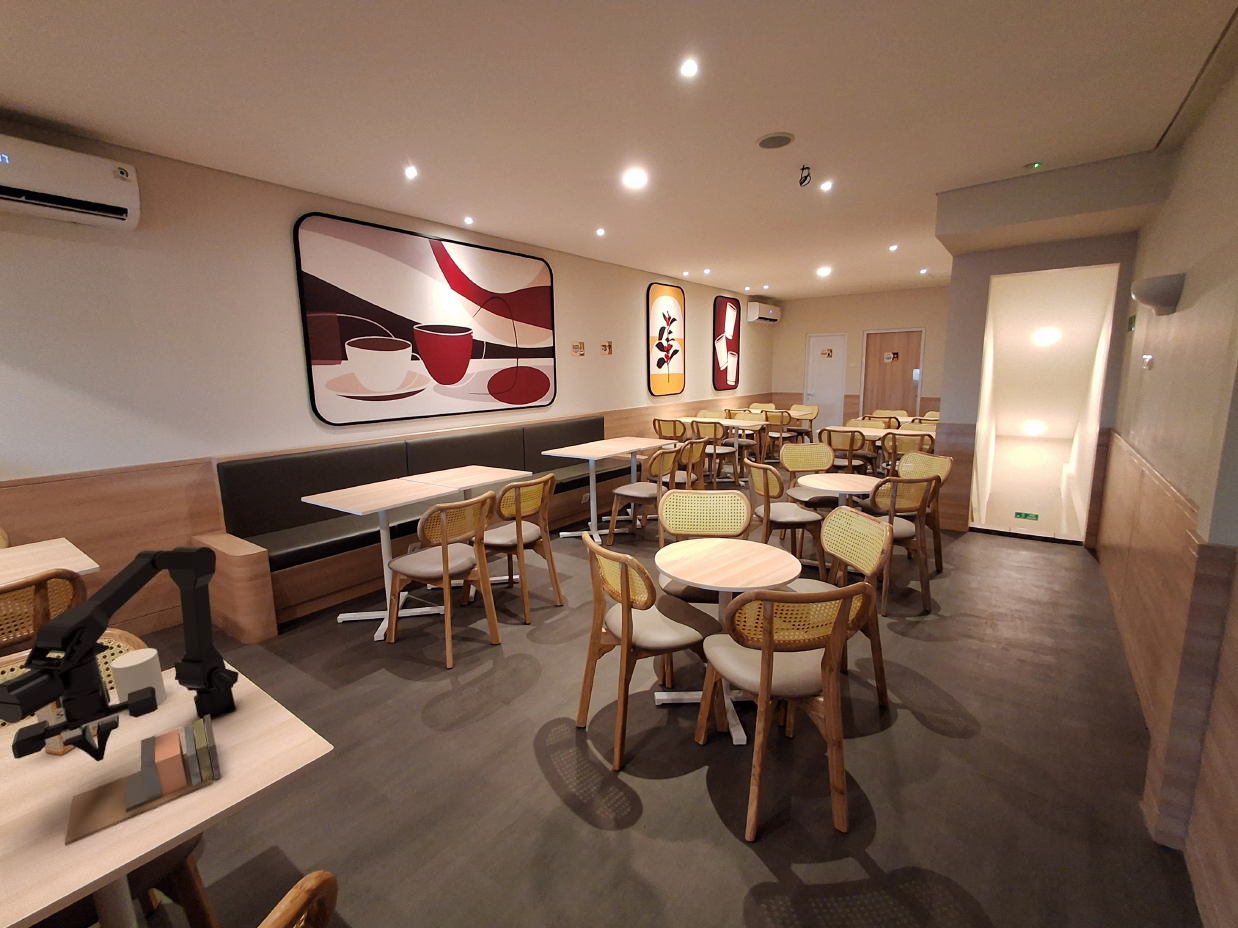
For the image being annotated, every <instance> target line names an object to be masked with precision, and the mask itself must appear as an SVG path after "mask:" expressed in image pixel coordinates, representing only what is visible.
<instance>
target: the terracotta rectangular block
mask: <svg viewBox="0 0 1238 928" xmlns="http://www.w3.org/2000/svg"><path fill="white" fill-rule="evenodd" d="M184 754H185V753H184V751H183V746H182V741H181V736H180V731H179V728H177V729H175V730H172V731H168V732H166V733H164V734H160V735H158V736H157V735H156V736H155V764H156V768H157V773H158V778H159V782H160V787H161V791H162V796H163V795H165V794H167V793H170V792H172V791H175V790H177V789H180V788H182V787H184V786H187V780H186V770H185V759H184Z"/></svg>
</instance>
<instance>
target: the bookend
mask: <svg viewBox="0 0 1238 928" xmlns="http://www.w3.org/2000/svg"><path fill="white" fill-rule="evenodd" d="M155 737H156V735H152V736H149V737H147V738H143V739H141V740H140V771H141V772H138V771H137V772H138V773H136V772H135V773H136V774H133V773H132V774H133V775H130V774H129V775H130V776H128V775H127V776H128V777H127V791H126V812H127V811H129V810H132V809H134V808H136V807H139V806H141V805H144V804H146V803H149V802H151V801H153V800H156V799H158V798H161V797H162V791H161V787H160V782H159V778H158V773H157V768H156V764H155Z"/></svg>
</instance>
